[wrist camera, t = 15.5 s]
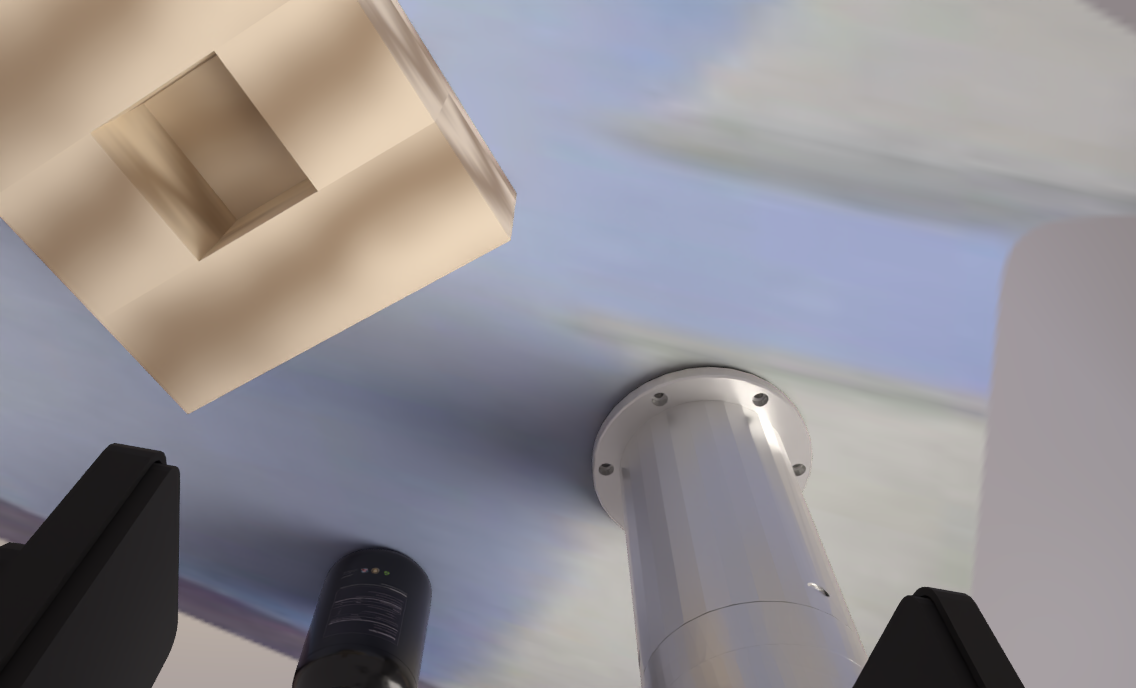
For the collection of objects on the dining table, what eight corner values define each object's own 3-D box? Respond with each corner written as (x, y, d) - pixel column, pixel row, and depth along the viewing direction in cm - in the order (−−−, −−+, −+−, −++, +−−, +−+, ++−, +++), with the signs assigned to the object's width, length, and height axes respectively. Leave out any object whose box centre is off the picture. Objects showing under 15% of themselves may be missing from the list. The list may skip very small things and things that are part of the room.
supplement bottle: (431, 626, 56) (402, 800, 45) (327, 617, 55) (273, 791, 45) (437, 548, 52) (407, 717, 42) (326, 538, 52) (267, 706, 41)
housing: (516, 193, 41) (510, 240, 36) (230, 351, 45) (187, 414, 40) (282, -185, 33) (231, -196, 28) (-37, 48, 38) (-133, 76, 32)
